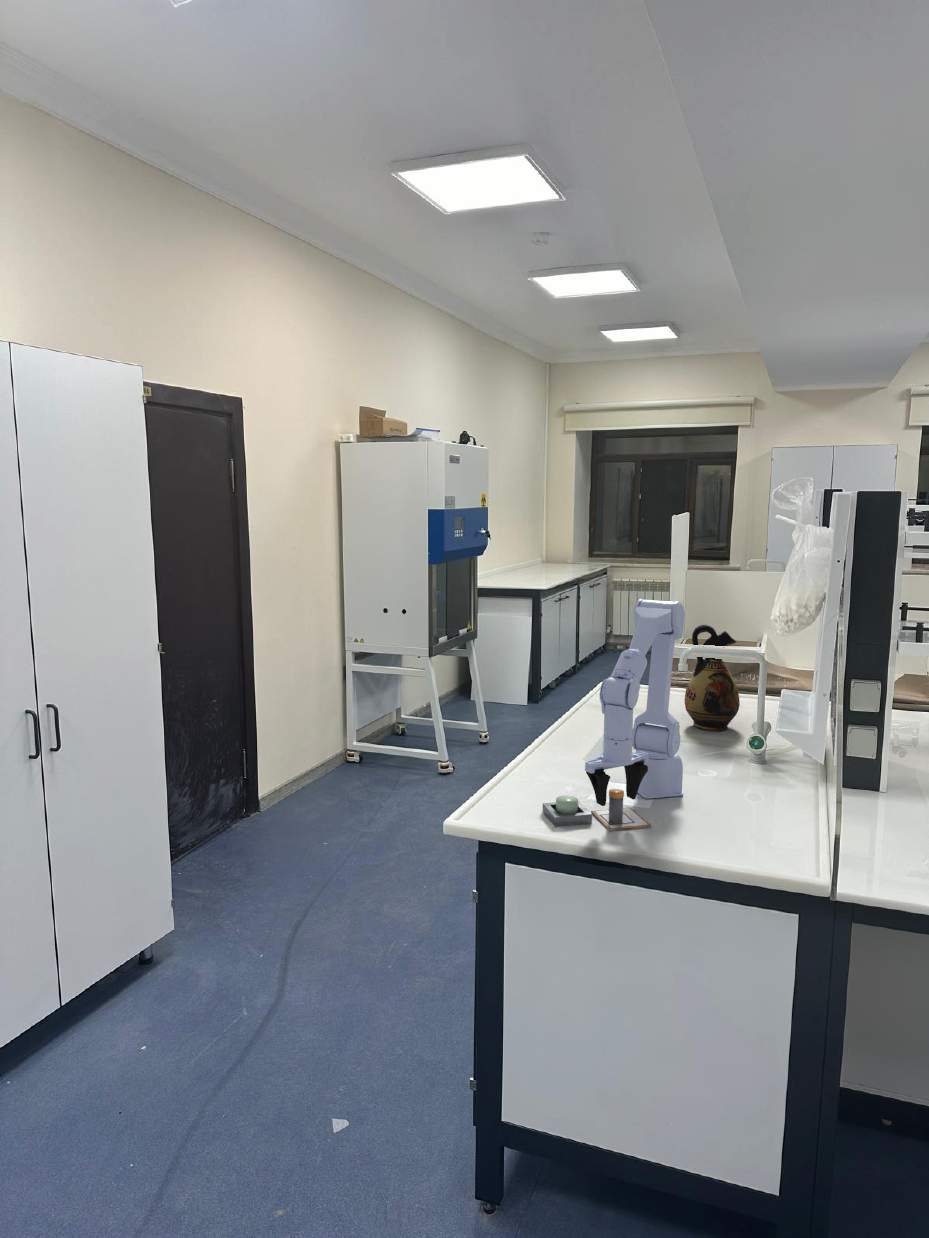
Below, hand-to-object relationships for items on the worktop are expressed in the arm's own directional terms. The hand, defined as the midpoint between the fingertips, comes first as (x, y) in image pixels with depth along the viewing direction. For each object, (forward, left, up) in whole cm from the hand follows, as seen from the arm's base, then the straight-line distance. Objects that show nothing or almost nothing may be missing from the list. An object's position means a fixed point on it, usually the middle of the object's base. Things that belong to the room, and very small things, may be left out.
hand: (616, 800), depth 166 cm
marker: (0, 0, -4) cm, 4 cm away
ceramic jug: (-56, -62, -5) cm, 84 cm away
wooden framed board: (-2, -2, -5) cm, 6 cm away
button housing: (+9, -5, -5) cm, 11 cm away
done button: (+9, -5, -4) cm, 11 cm away
